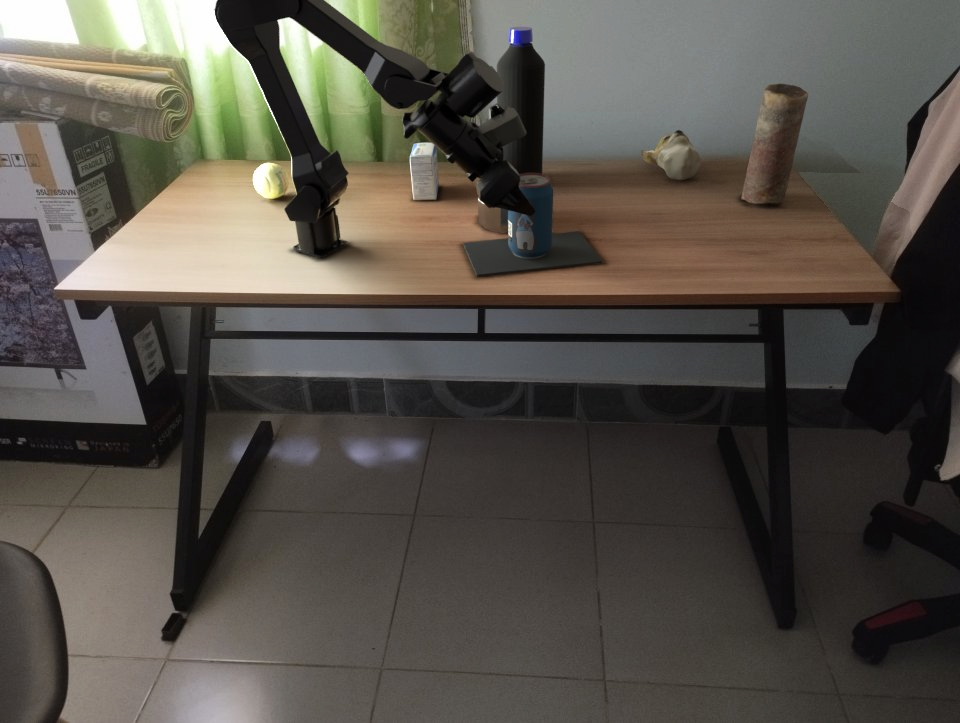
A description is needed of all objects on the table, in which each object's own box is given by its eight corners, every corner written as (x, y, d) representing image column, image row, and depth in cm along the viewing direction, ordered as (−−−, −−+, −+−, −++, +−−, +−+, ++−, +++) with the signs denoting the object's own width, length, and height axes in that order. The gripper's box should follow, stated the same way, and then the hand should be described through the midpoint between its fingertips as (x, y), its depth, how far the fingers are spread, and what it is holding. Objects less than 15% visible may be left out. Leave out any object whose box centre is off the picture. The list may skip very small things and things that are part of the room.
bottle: (538, 189, 143) (542, 33, 128) (494, 187, 145) (492, 32, 129) (544, 174, 150) (548, 24, 135) (501, 172, 152) (501, 24, 136)
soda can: (543, 240, 122) (545, 169, 116) (557, 257, 117) (560, 184, 110) (503, 245, 121) (502, 173, 115) (515, 263, 116) (515, 189, 109)
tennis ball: (271, 206, 139) (265, 171, 135) (248, 199, 142) (241, 165, 138) (297, 196, 143) (292, 162, 139) (274, 189, 146) (268, 156, 143)
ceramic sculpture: (663, 139, 138) (640, 122, 151) (658, 185, 143) (636, 164, 156) (718, 137, 139) (691, 120, 152) (712, 183, 144) (686, 162, 157)
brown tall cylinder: (779, 194, 138) (803, 83, 127) (789, 209, 132) (815, 93, 121) (737, 194, 139) (757, 83, 128) (745, 209, 133) (766, 93, 122)
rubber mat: (476, 277, 113) (476, 274, 112) (463, 245, 123) (462, 242, 122) (602, 263, 116) (602, 261, 116) (579, 233, 126) (579, 230, 125)
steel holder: (521, 238, 124) (521, 213, 122) (466, 224, 130) (465, 200, 127) (553, 216, 132) (554, 191, 129) (500, 204, 137) (500, 180, 135)
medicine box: (436, 200, 139) (433, 155, 135) (412, 201, 140) (409, 155, 135) (439, 185, 146) (436, 142, 141) (416, 186, 146) (413, 142, 141)
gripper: (504, 109, 97) (581, 184, 104) (481, 77, 112) (549, 144, 120) (447, 172, 100) (525, 241, 108) (432, 132, 115) (501, 195, 123)
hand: (526, 202), depth 114 cm, fingers open, 9 cm apart
